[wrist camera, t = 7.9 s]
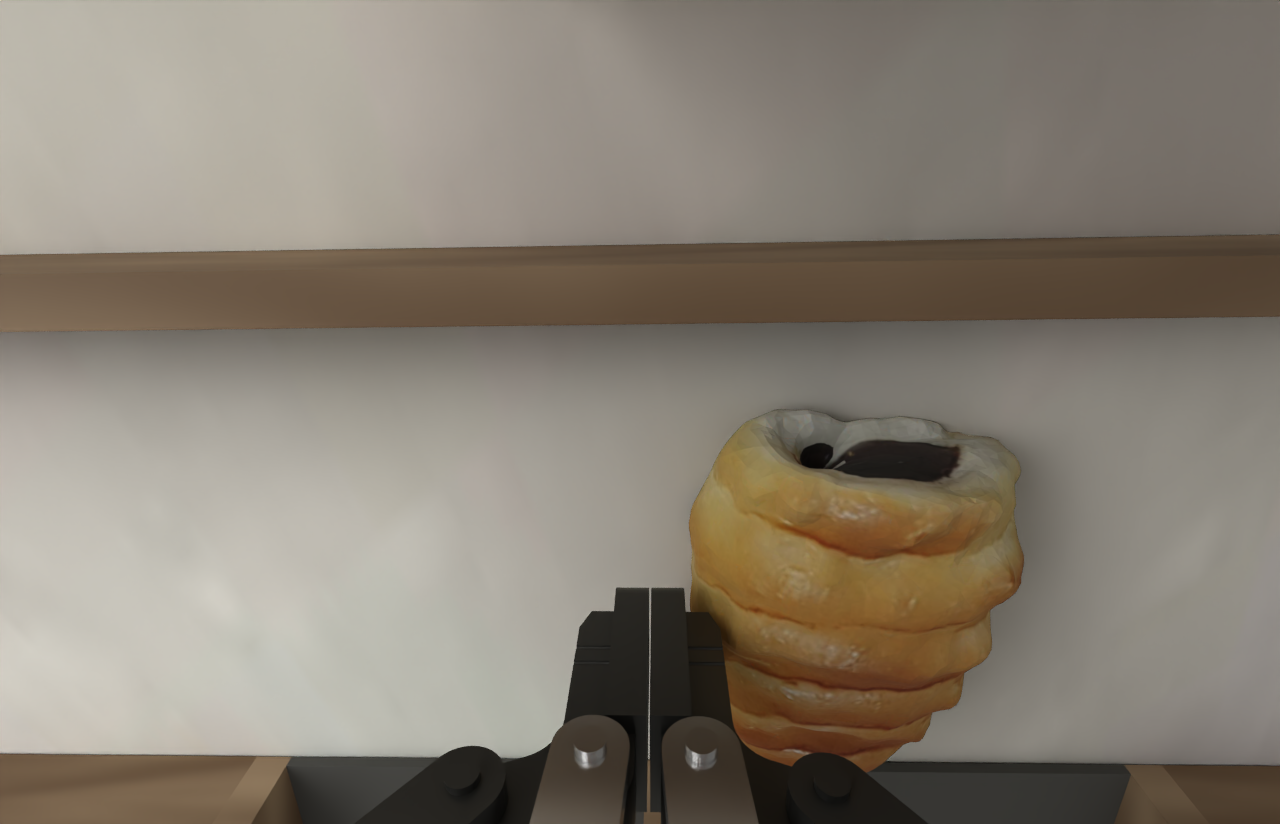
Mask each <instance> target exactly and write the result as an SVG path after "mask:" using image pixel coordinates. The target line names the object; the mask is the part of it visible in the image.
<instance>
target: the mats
mask: <svg viewBox="0 0 1280 824" xmlns="http://www.w3.org/2000/svg"><path fill="white" fill-rule="evenodd" d="M437 759H438V758H361V757H291V759H290V760H289V762H288V764H287V765H286V768H287V771H288V774H289V778H290V781H291V785H292V788H293V791H294V795H295V798H296V801H297V805H298V808H299V812H300V815H301V818H302V822H303V824H354V823H355V822H357V821H358V820H359V819H361V818H362V817H363V816H364V815H366V814H367V813H368V812H370V811H371V810H372V809H373V808H375V807H376V806H377V805H379V804H380V803H381V802H382V801H384V800H385V799H386V798H388V797H389V796H390V795H391V794H393V793H394V792H395V791H397V790H398V789H399V788H401V787H402V786H403V785H404V784H406V783H407V782H408V781H410V780H411V779H412V778H413V777H415V776H416V775H417V774H419V773H420V772H421V771H422V770H424V769H425V768H426V767H428V766H429V765H430V764H431V763H433V762H434V761H435V760H437ZM501 760H502V762H503V763H505V762H509V761H513V760H516V759H501ZM866 773H867V774H868V775H869V776H871V777H872V778H873V779H874V780H876V781H877V782H878V783H879V784H880V785H882V786H883V787H884V788H885V789H887V790H888V791H889V792H890V793H891V794H893V795H894V796H895V797H896V798H898V799H899V800H900V801H901V802H902V803H904V804H905V805H906V806H907V807H909V808H910V809H911V810H912V811H913V812H915V813H916V814H917V815H918V816H920V817H921V818H922V819H923V820H925V821H926V822H927V823H928V824H1114V822H1115V819H1116V816H1117V814H1118V811H1119V808H1120V805H1121V802H1122V799H1123V796H1124V794H1125V791H1126V788H1127V785H1128V782H1129V779H1130V776H1131V774H1130V772H1129V771H1128V770H1127V768H1126V767H1125V766H1124V765H1098V764H993V763H887V762H884V763H883V764H881V765H880V766H878V767H877V768H875V769H873V770H871V771H869V772H866ZM635 824H644V812H636V820H635Z"/></svg>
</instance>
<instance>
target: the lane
mask: <svg viewBox="0 0 1280 824" xmlns="http://www.w3.org/2000/svg"><path fill="white" fill-rule="evenodd" d="M1276 316H1280V235H1220V236H1157V237H1095V238H1032V239H969V240H907V241H844V242H781V243H719V244H656V245H594V246H531V247H468V248H406V249H343V250H280V251H218V252H155V253H92V254H30V255H0V332H30V331H113V330H196V329H279V328H362V327H445V326H528V325H611V324H694V323H777V322H861V321H944V320H1027V319H1110V318H1193V317H1276ZM290 759H291V757H256V756H150V755H45V754H0V824H303V822H302V818H301V815H300V812H299V808H298V805H297V801H296V798H295V795H294V791H293V788H292V785H291V781H290V778H289V774H288V771H287V768H286V765H287V764H288V762H289V760H290ZM1124 766H1125V767H1126V768H1127V770H1128V771H1129V772H1130V774H1131V776H1130V779H1129V782H1128V785H1127V788H1126V791H1125V794H1124V796H1123V799H1122V802H1121V805H1120V808H1119V811H1118V814H1117V816H1116V819H1115V822H1114V824H1280V766H1203V765H1124ZM644 824H661V812H650V760H648V773H647V812H644Z"/></svg>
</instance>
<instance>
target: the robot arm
mask: <svg viewBox="0 0 1280 824" xmlns="http://www.w3.org/2000/svg"><path fill="white" fill-rule="evenodd" d="M648 708H649V588H616V595H615V606H614V611H592V612H591V613H590V614H589V616H588V617H587V618H586V620H585V621H584V622H583V623H582V625H581V626H580V628H579V634H578V640H577V649H576V653H575V659H574V665H573V671H572V677H571V683H570V689H569V696H568V702H567V708H566V714H565V720H564V724H563V726H562V727H561V728H560V729H559V730H558V731H557V732H556V734H555V736H554V737H553V740H552V742H551V743H550V744H549V745H548V746H547V747H545V748H544V749H542V750H541V751H539V752H537V753H535V754H532V755H530V756H527V757H523V758H520V759H516V760H513V761H509V762H505V763H503V762H502V760H501V758H500V757H499V756H498V755H497V754H496V753H495V752H493V751H492V750H490V749H487V748H484V747H480V746H465V747H461V748H457V749H454V750H452V751H449V752H448V753H446V754H444V755H442V756H441V757H439V758H438V759H437V760H435V761H434V762H433V763H431V764H430V765H429V766H428V767H426V768H425V769H424V770H422V771H421V772H420V773H419V774H417V775H416V776H415V777H413V778H412V779H411V780H410V781H408V782H407V783H406V784H404V785H403V786H402V787H401V788H399V789H398V790H397V791H395V792H394V793H393V794H391V795H390V796H389V797H388V798H386V799H385V800H384V801H382V802H381V803H380V804H379V805H377V806H376V807H375V808H373V809H372V810H371V811H370V812H368V813H367V814H366V815H364V816H363V817H362V818H361V819H359V820H358V821H357V822H355V823H354V824H635V820H636V812H647V773H648ZM650 812H661V824H928V823H927V822H926V821H925V820H923V819H922V818H921V817H920V816H918V815H917V814H916V813H915V812H913V811H912V810H911V809H910V808H909V807H907V806H906V805H905V804H904V803H902V802H901V801H900V800H899V799H898V798H896V797H895V796H894V795H893V794H891V793H890V792H889V791H888V790H887V789H885V788H884V787H883V786H882V785H880V784H879V783H878V782H877V781H876V780H874V779H873V778H872V777H871V776H869V775H868V774H867V773H866V772H864V771H863V770H862V769H861V768H860V767H858V766H857V765H856V764H854V763H853V762H851V761H850V760H848V759H846V758H844V757H841V756H839V755H836V754H832V753H824V752H818V753H811V754H808V755H805V756H803V757H801V758H800V759H798V760H797V761H796V762H795V763H794V764H793V766H789V765H785V764H782V763H779V762H776V761H772V760H769V759H767V758H764V757H762V756H760V755H758V754H757V753H755V752H754V751H752V750H751V749H749V748H748V747H747V746H746V745H745V744H744V743H743V742H742V740H741V739H740V738H739V736H738V735H737V733H736V731H735V728H734V725H733V719H732V712H731V705H730V697H729V690H728V682H727V675H726V667H725V660H724V652H723V645H722V637H721V630H720V627H719V626H718V625H717V623H716V622H715V620H714V619H713V618H712V616H711V615H710V614H709V612H686V610H685V595H684V588H652V589H651V670H650Z"/></svg>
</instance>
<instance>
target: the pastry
mask: <svg viewBox="0 0 1280 824" xmlns="http://www.w3.org/2000/svg"><path fill="white" fill-rule="evenodd" d="M1020 473H1021V469H1020V465H1019V462H1018V460H1017V459H1016V457H1015V456H1014V455H1013V454H1012V453H1011V452H1010V451H1008V450H1007V449H1006V448H1005V447H1004V446H1003V445H1002V444H1001V443H1000V442H999V441H998V440H996V439H993V438H991V437H983V436H968V435H965V434H962V433H959V432H952V433H949V432H947V431H945V430H944V429H943V428H942V426H941V425H939V424H937V423H936V422H933V421H928V420H922V419H916V418H908V417H900V416H899V417H894V418H890V419H875V418H869V419H862V420H856V421H852V422H841V421H839V420H836V419H833V418H832V417H830V416H829V415H826V414H823V413H820V412H816V411H810V410H783V409H778V410H773V411H771V412H768V413H766V414H764V415H761V416H759V417H756V418H754V419H752V420H750V421H747V422H746V423H745V424H743V425H742V426H741V427H740V428H739V429H738V430H737V431H736V432H735V433H734V434H733V436H732V437H731V438H730V439H729V441H728V442H727V443H726V444H725V446H724V447H723V449H722V450H721V452H720V453H719V455H718V457H717V459H716V461H715V463H714V465H713V468H712V470H711V472H710V474H709V476H708V478H707V480H706V481H705V483H704V485H703V487H702V489H701V491H700V492H699V494H698V496H697V498H696V500H695V502H694V504H693V506H692V509H691V515H690V520H689V531H690V537H691V546H692V562H691V570H692V585H691V594H690V610H691V612H709V614H710V615H711V616H712V618H713V619H714V620H715V622H716V623H717V625H718V626H719V627H720V630H721V637H722V645H723V652H724V660H725V667H726V675H727V682H728V690H729V697H730V705H731V712H732V719H733V725H734V728H735V731H736V733H737V735H738V736H739V738H740V739H741V740H742V742H743V743H744V744H745V745H746V746H747V747H748V748H749V749H751V750H752V751H754V752H755V753H757V754H758V755H760V756H762V757H764V758H767V759H769V760H772V761H776V762H779V763H782V764H785V765H789V766H793V764H794V763H795V762H796V761H797V760H798V759H800V758H801V757H803V756H805V755H808V754H811V753H818V752H824V753H832V754H836V755H839V756H841V757H844V758H846V759H848V760H850V761H851V762H853V763H854V764H856V765H857V766H858V767H860V768H861V769H862V770H863V771H864V772H869V771H871V770H873V769H875V768H877V767H878V766H880V765H881V764H883V763H884V762H885V761H886V760H887V759H888V758H889V757H890V756H891V755H893V754H894V753H895V752H896V751H897V750H898V749H899V748H900V747H901V746H902V745H903V744H906V743H909V742H919V741H920V740H921V739H923V737H924V735H925V733H926V730H927V729H928V727H929V725H930V720H931V715H932V712H936V711H940V710H947V709H950V708H952V707H954V706H955V705H956V704H957V703H958V701H959V699H960V697H961V692H962V686H963V679H964V673H965V672H966V671H968V670H970V669H971V668H973V667H975V666H977V665H979V664H980V663H982V662H983V661H984V660H985V659H986V658H987V657H988V655H989V653H990V651H991V648H992V637H991V628H990V610H991V609H992V608H994V607H995V606H996V605H998V604H1001V603H1003V602H1004V601H1006V600H1007V599H1009V598H1010V597H1011V596H1012V595H1013V594H1014V593H1015V592H1016V591H1017V589H1018V588H1019V586H1020V584H1021V575H1022V570H1023V566H1024V555H1023V551H1022V549H1021V546H1020V543H1019V541H1018V536H1017V530H1016V525H1015V519H1014V509H1015V506H1016V497H1015V487H1014V485H1015V483H1016V481H1017V480H1018V478H1019V476H1020Z"/></svg>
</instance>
